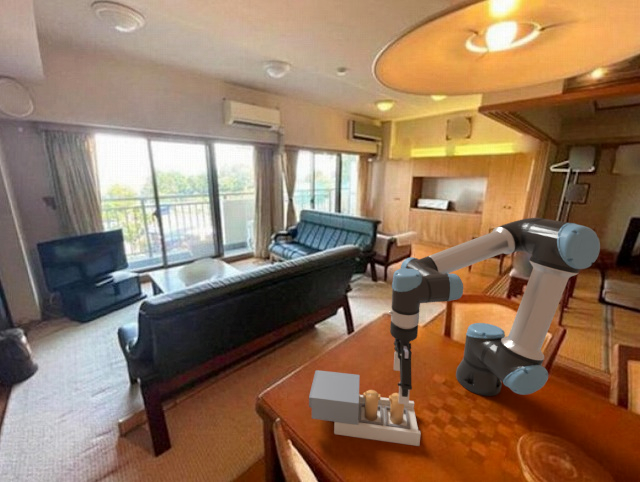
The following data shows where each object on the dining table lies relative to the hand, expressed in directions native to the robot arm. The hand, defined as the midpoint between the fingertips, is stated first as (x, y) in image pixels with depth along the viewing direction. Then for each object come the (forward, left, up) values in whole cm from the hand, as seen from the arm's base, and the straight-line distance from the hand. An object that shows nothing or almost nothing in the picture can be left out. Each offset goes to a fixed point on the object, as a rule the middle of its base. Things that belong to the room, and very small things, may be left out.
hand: (400, 385), depth 85 cm
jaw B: (0, 0, -12) cm, 12 cm away
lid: (+20, 0, -10) cm, 22 cm away
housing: (+7, 0, -15) cm, 16 cm away
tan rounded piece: (+8, 0, -12) cm, 15 cm away
